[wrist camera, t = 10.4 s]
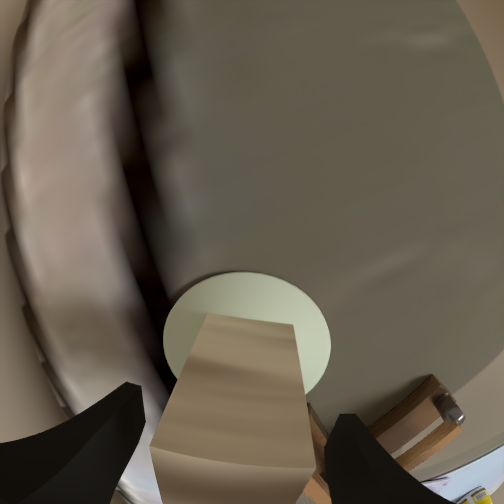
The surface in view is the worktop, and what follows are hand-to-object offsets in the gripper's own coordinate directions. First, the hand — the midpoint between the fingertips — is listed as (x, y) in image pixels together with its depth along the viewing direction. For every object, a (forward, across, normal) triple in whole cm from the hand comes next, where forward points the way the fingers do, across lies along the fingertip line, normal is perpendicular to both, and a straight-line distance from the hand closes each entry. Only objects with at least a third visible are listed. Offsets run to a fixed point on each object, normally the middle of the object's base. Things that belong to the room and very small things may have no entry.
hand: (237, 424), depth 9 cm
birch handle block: (+5, 0, 0) cm, 5 cm away
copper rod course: (+5, -7, +6) cm, 11 cm away
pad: (+5, 0, 0) cm, 5 cm away
